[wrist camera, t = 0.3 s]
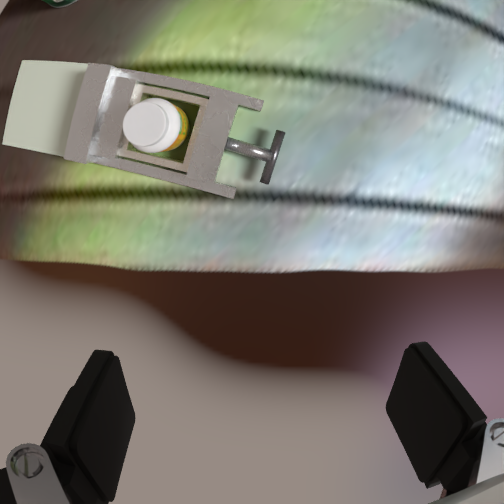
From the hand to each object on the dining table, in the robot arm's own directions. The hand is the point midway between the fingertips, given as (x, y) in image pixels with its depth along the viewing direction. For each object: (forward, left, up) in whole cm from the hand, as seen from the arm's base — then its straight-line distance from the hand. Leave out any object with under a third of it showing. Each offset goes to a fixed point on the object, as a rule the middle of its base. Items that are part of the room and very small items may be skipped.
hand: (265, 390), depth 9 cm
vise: (-6, -10, -29) cm, 32 cm away
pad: (-6, -29, -29) cm, 42 cm away
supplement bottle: (-6, -11, -30) cm, 32 cm away
